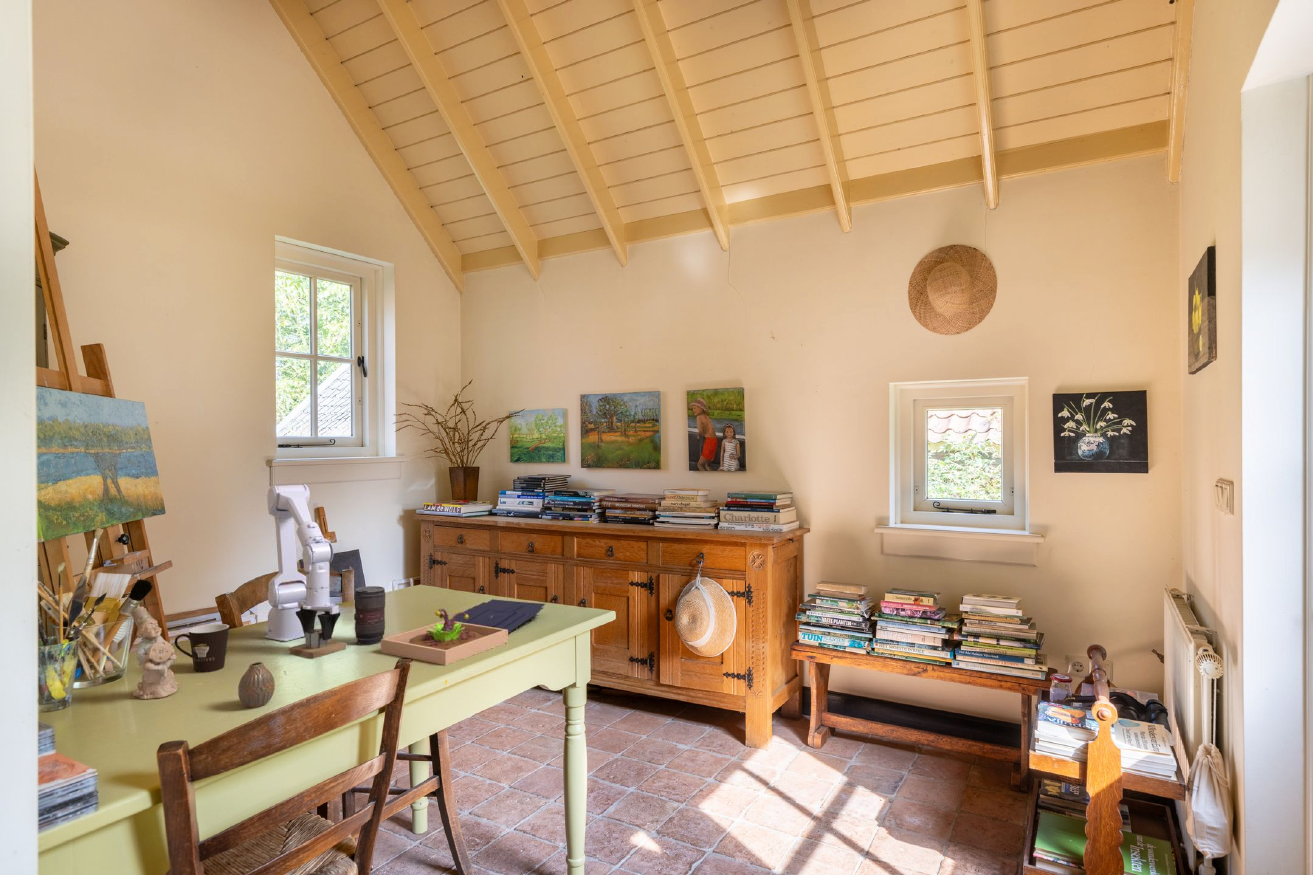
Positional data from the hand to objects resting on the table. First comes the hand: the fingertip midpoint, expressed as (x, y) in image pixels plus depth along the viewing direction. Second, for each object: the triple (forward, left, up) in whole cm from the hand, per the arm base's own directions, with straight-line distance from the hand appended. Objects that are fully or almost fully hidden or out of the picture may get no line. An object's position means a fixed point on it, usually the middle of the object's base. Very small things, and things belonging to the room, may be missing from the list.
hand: (318, 637), depth 195 cm
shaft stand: (0, 0, -4) cm, 4 cm away
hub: (0, 0, -2) cm, 2 cm away
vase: (+24, -32, -4) cm, 40 cm away
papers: (+22, +45, -4) cm, 50 cm away
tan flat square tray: (+28, +19, -4) cm, 34 cm away
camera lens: (+5, +13, -4) cm, 14 cm away
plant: (+28, +19, -4) cm, 34 cm away
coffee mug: (-12, -23, -4) cm, 26 cm away
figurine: (-2, -39, -4) cm, 39 cm away
